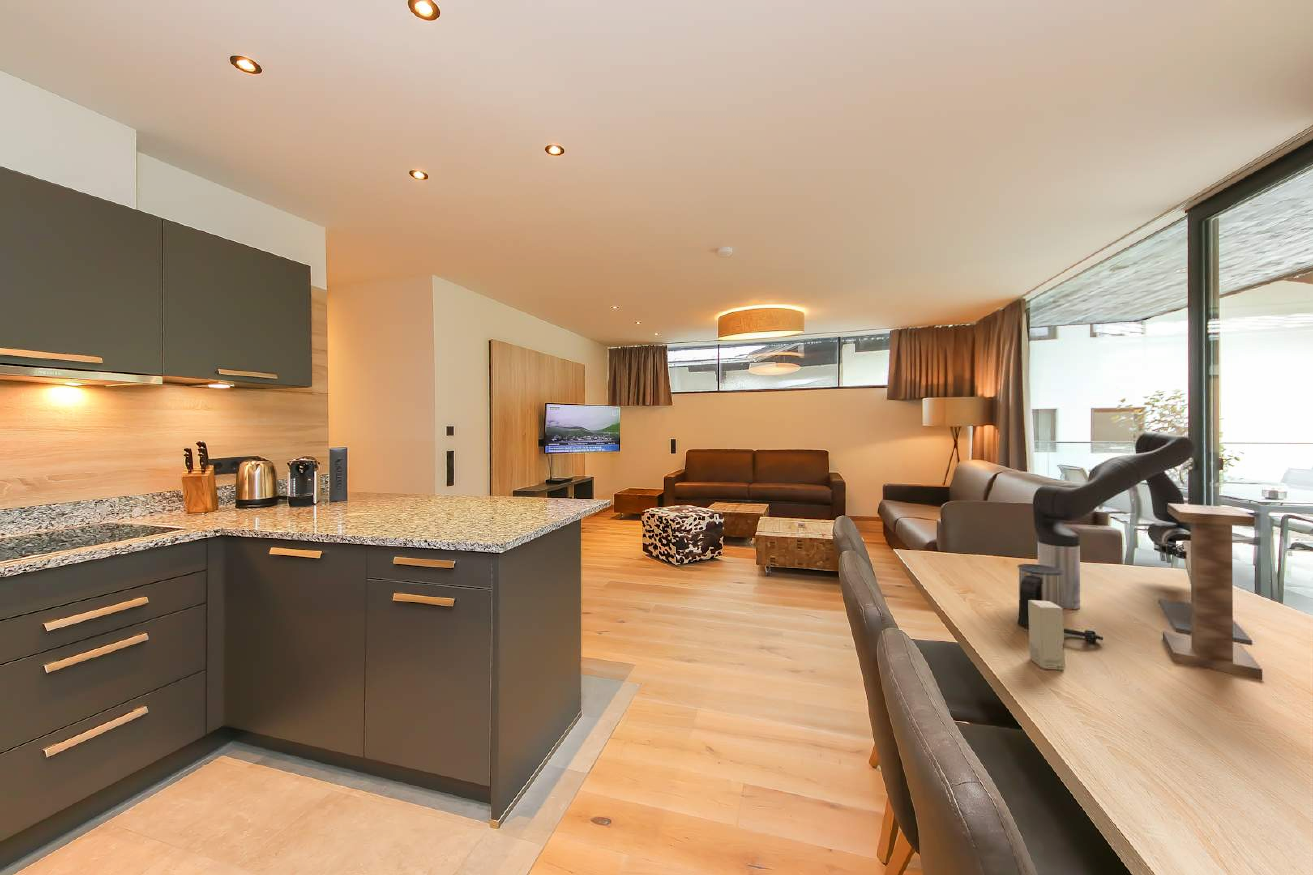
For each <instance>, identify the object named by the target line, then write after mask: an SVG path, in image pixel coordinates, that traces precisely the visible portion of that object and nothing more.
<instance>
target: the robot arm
mask: <svg viewBox="0 0 1313 875" xmlns="http://www.w3.org/2000/svg"><path fill="white" fill-rule="evenodd" d="M1134 446H1135V450H1134V451H1135V453H1132V454H1124V455H1123V454H1122V455H1119V456H1114V457H1112V458H1111V457H1110V458H1109V459H1107V460H1105V461H1103V462H1101V463H1099V464H1097V465H1095V466H1094V467H1093V468H1092V469H1091V470H1090V471H1089V474H1088V477H1087V479H1088V480H1087V482H1085V483H1084V484H1081V485H1078V486H1075V487H1065V486H1053V485H1044V486H1040V487H1038V488H1037V489H1036V491H1035V492H1034V494H1033V499H1032V512H1033V515H1032V516H1033V526H1034V532H1035V535H1036V537H1037V565H1044V566H1050V567H1054V568H1058V569H1060V570H1062V571H1063V573H1062V608H1063V610H1065V609H1067V610H1076V609H1080V608H1081V552H1080V551H1081V545H1080V544H1081V539H1080V536H1079V535H1078V534H1077V533H1075V532H1074V531H1072V530H1070V529H1069V528H1068V527H1067V526H1065V524H1064V523H1063V521H1067V522H1074V521H1079V520H1080V519H1082V518H1084V517H1086V516H1087V515H1088V514H1090V513H1091V512H1092V511H1094V510H1095V509H1097V508H1098V507H1099V506H1101V505H1102V504H1103V503H1105V502H1107V501H1109V500H1110V499H1113V498H1114V497H1116V496H1118V495H1119V494H1121V493H1124V492H1126V491H1127V490H1129V489H1132V488H1133V487H1135V486H1137V485H1138V484H1140V483H1142V482H1144V481H1145V482H1146V484H1147V486H1148V489H1149V493H1150V494H1149V495H1150V499H1151V505H1152V506H1151V508H1152V514H1153V516H1154V518H1155V519H1157V520H1159V521H1161V522H1159V521H1158V522H1154V523H1153V522H1152V523H1151V524H1150V525H1149V526H1148V527H1147V535H1148V537H1149V539H1150V541H1151V542H1153V551H1156V552H1159V553H1162V554H1165V555H1168V556H1174V557H1176V558H1178V559H1182V560H1184V559H1186V555H1187V552H1186V550H1185V549H1184V548H1182V540H1186V541H1191V522H1180V521H1179V520H1177V519H1176V518H1175V517H1173V516H1172V515H1171V514H1170V513H1168V512H1167V503H1170V504H1185V500H1184V496H1183V493H1182V491H1181V489H1180V488H1179V487H1178V486H1177V484H1176V483H1175V482H1174V481H1173V480H1172V479H1171V478H1170V476H1168V474H1167V473H1166V472H1167V471H1168V470H1171V469H1174V468H1177V467H1179V466H1181V465H1184V463H1187V461H1188V460H1189V459H1190V458H1191V457H1192V456H1193V454H1194V452H1195V444H1194V442H1193V440H1192V439H1191V438H1189V437H1186V436H1185V435H1180V434H1174V433H1168V432H1167V433H1166V432H1160V431H1145V432H1143V433H1142V434H1140V435H1139V437H1138V438H1137V440H1136V441H1135V445H1134Z"/></svg>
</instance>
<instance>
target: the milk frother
mask: <svg viewBox="0 0 1313 875" xmlns="http://www.w3.org/2000/svg"><path fill="white" fill-rule="evenodd" d="M1017 568H1018V619H1017V623H1018V625H1019V626H1022V627H1024V628H1026V629H1028V630H1029V613H1028V600H1037V601H1050V602H1052V603H1054V604H1056V605H1058V606H1059V607H1061V608H1062V573H1063V571H1062V570H1060V569H1058V568H1054V567H1050V566H1044V565H1038V563H1037V564H1034V563H1020V564H1018V565H1017ZM1064 634H1066V635H1072V636H1077V637H1084V639H1085V642H1087V643H1094V644H1095V643H1097V640H1099V641H1103V640H1104V637H1103V636H1100V635H1097V634H1096V632H1095V631H1094V630H1087V629H1085V630H1084V631H1080V630H1074V629H1068V628H1064Z"/></svg>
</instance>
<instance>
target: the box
mask: <svg viewBox="0 0 1313 875" xmlns="http://www.w3.org/2000/svg"><path fill="white" fill-rule="evenodd" d="M1028 613H1029V629H1028V632H1029V633H1028V636H1029V637H1028V638H1029V639H1028V640H1029V659H1030V660H1031V661H1033V662H1034V663H1035V664H1036V665H1037V666H1038V667H1040V668H1041V669H1044V670H1057V671H1065V670H1066V666H1065V665H1066V663H1065V662H1066V659H1065V633H1064V629H1065V628H1064V608H1061V607H1059V606H1058V605H1056V604H1054V603H1052V602H1050V601H1037V600H1028Z"/></svg>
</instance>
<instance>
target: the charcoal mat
mask: <svg viewBox="0 0 1313 875" xmlns="http://www.w3.org/2000/svg"><path fill="white" fill-rule="evenodd" d="M1157 601H1158V603H1159V605H1160V607H1161V608H1162V610H1163V612H1164V614H1165V616H1166V617H1167V619H1168V620H1169V622H1170V624H1171V626H1172V627H1173V629H1174V630H1175V632H1179V633H1184V634H1191V602H1185V601H1178V600H1169V599H1165V598H1158V599H1157ZM1233 642H1237V643H1243V644H1249V645H1253V640H1252V638H1251V637H1250V636H1249V635H1248V634H1247V633H1246V632H1245V631H1244V630H1243V628H1241V627H1240V626H1239V625H1238V624H1237V622H1236V621H1235V620H1234V619H1233Z"/></svg>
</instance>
